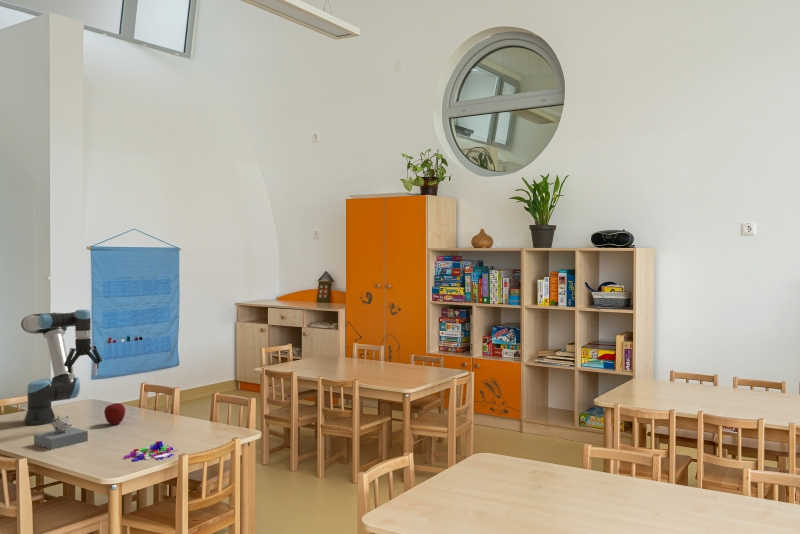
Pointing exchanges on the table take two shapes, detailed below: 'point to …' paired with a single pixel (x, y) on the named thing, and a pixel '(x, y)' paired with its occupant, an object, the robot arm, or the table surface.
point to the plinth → (61, 438)
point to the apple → (114, 413)
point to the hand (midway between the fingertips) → (83, 377)
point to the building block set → (154, 448)
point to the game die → (61, 424)
